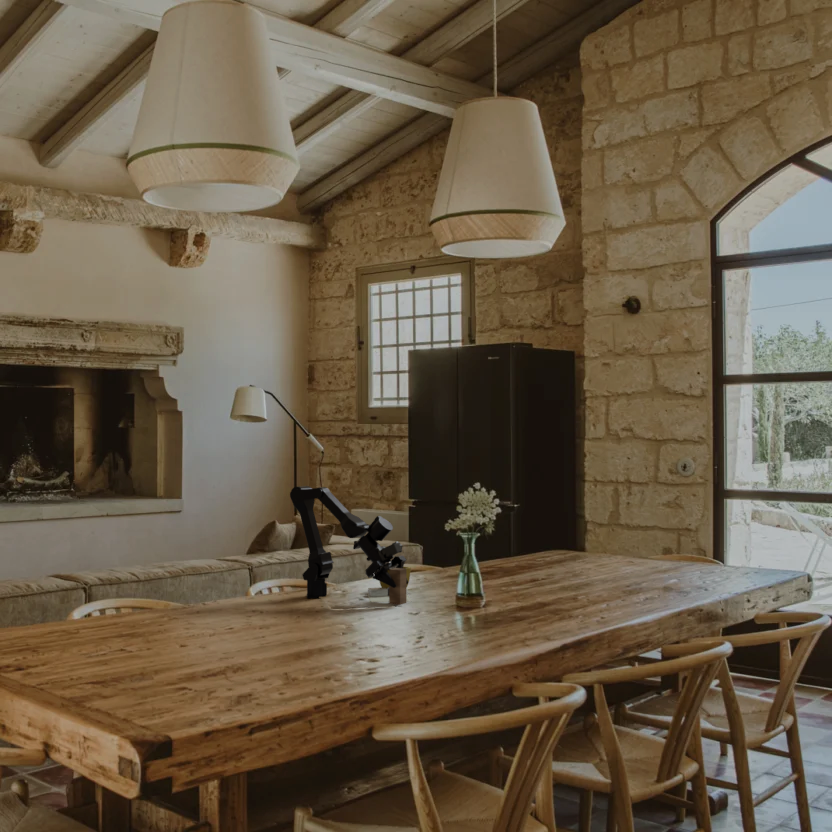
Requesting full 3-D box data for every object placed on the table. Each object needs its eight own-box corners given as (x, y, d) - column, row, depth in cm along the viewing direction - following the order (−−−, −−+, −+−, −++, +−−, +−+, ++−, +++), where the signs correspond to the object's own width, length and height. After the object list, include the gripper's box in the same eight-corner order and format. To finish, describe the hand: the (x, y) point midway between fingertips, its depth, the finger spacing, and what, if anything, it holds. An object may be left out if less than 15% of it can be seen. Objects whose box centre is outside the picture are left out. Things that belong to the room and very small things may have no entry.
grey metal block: (370, 597, 347) (370, 589, 347) (368, 595, 351) (368, 588, 351) (387, 596, 349) (387, 589, 349) (384, 594, 353) (384, 587, 353)
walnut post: (389, 605, 334) (389, 569, 334) (395, 603, 338) (395, 567, 338) (400, 606, 332) (400, 570, 332) (406, 604, 336) (406, 568, 336)
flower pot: (396, 595, 354) (396, 570, 354) (377, 593, 359) (377, 568, 359) (411, 592, 361) (411, 567, 361) (392, 590, 366) (392, 565, 366)
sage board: (370, 603, 337) (370, 602, 337) (367, 596, 353) (367, 594, 353) (411, 603, 339) (411, 601, 339) (407, 595, 354) (407, 593, 354)
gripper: (373, 536, 329) (402, 572, 324) (401, 531, 345) (429, 566, 340) (352, 559, 333) (381, 595, 327) (381, 553, 349) (409, 587, 344)
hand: (401, 585), depth 334 cm, fingers open, 8 cm apart
